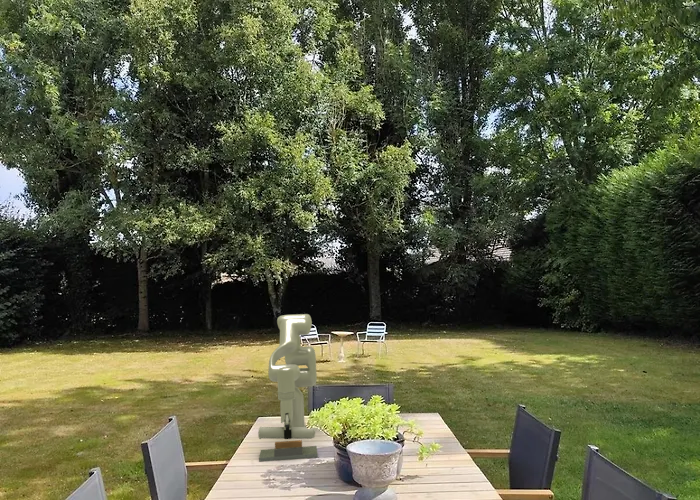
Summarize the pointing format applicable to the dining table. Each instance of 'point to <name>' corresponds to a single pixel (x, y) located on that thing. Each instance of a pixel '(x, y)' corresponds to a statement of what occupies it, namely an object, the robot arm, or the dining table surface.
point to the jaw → (288, 444)
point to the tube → (279, 433)
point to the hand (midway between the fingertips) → (288, 436)
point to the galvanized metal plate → (288, 453)
